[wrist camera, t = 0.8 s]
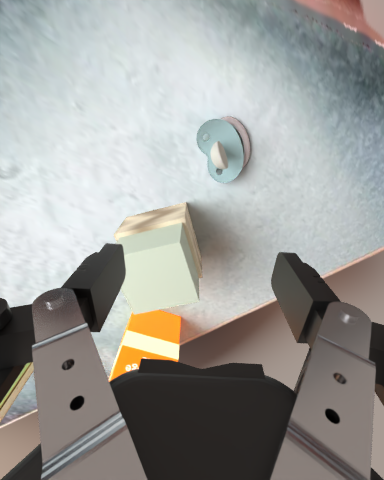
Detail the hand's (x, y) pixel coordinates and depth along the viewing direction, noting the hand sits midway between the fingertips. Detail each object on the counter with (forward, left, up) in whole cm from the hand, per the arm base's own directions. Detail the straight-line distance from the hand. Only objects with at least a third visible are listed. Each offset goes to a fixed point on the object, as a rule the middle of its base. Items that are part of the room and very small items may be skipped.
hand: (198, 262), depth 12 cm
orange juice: (+15, +24, -21) cm, 35 cm away
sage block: (+6, +7, -15) cm, 17 cm away
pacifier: (-5, -3, -21) cm, 21 cm away
